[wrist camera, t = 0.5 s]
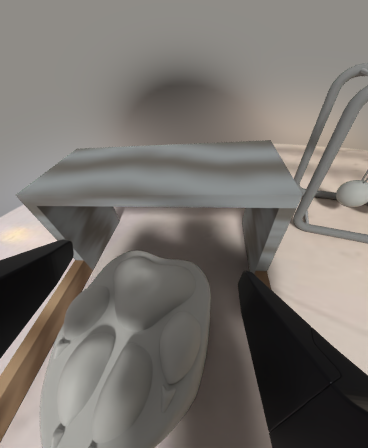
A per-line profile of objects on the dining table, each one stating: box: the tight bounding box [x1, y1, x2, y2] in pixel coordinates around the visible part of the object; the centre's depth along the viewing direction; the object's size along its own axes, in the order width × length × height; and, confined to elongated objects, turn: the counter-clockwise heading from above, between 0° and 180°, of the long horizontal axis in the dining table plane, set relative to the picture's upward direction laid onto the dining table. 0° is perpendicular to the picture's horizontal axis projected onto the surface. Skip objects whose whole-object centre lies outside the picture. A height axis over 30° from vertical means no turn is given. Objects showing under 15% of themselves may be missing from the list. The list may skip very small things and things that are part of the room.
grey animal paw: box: [40, 250, 211, 448], centre depth 14 cm, size 10×13×9 cm
